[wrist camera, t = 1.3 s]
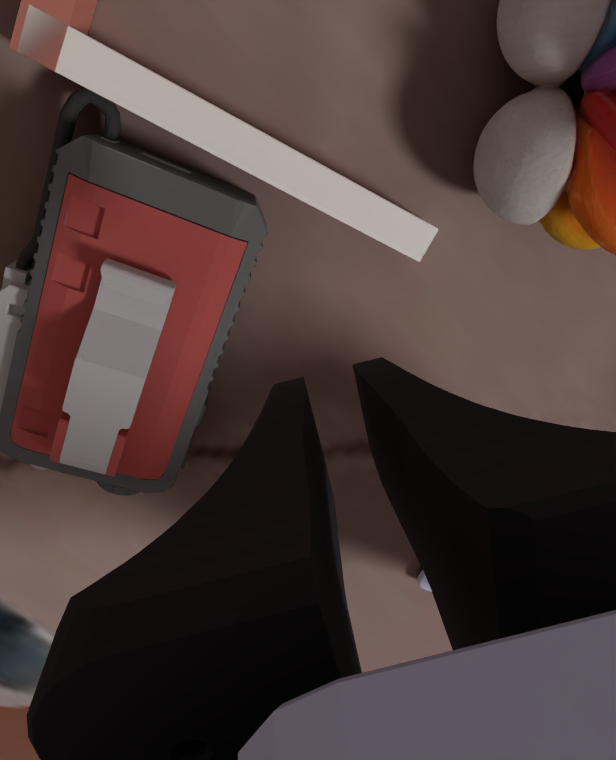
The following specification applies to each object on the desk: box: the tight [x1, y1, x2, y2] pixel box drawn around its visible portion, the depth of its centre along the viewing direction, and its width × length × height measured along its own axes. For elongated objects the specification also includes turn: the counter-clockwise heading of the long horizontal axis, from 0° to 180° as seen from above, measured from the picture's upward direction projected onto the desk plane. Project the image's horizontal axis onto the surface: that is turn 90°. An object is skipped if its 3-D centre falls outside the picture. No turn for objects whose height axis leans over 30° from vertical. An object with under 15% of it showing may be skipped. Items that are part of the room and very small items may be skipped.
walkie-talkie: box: [0, 88, 268, 495], centre depth 20 cm, size 9×4×20 cm
